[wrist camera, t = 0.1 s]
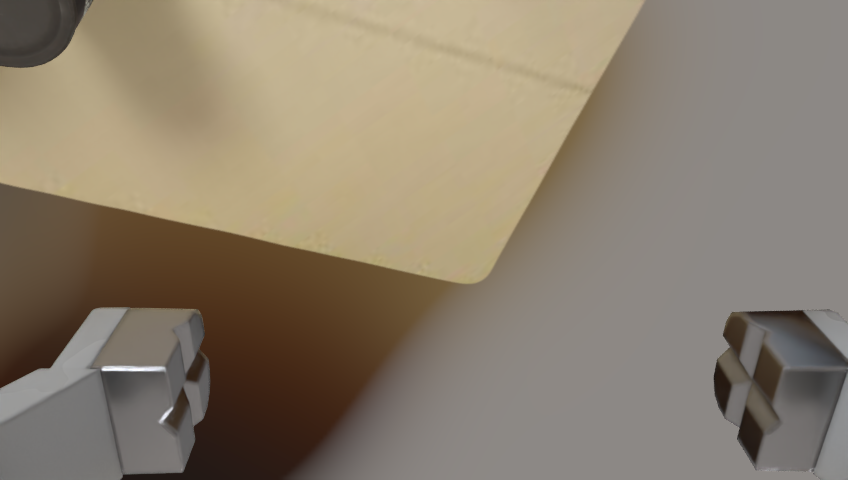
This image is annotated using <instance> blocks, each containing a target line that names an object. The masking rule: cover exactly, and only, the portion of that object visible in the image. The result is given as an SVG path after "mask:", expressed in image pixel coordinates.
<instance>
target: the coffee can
mask: <svg viewBox="0 0 848 480" xmlns="http://www.w3.org/2000/svg"><path fill="white" fill-rule="evenodd" d="M92 2H93V0H0V66H5V67H18V68H24V67H34V66H38V65H42V64H45V63H47V62H49V61H51V60H53V59H54V58H56V57H57V56H58V55H60V54H61V53H62V52H63V51H64V50H65V49H66V47H67V46H68V44H69V43H70V41H71V39H72V37H73V35H74V32H75V29H76V28H77V26H78V24H79V23H80V21H81V20H82V18H83V17H84V15H85V13H86V12H87V10H88V8H89V7H90V5H91V3H92Z"/></svg>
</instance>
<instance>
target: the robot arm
mask: <svg viewBox="0 0 848 480" xmlns="http://www.w3.org/2000/svg"><path fill="white" fill-rule="evenodd" d="M204 335H205V333H204V327H203V321H202V316H201V314H200V312H199V311H198V310H197V309H156V308H154V309H153V308H132V309H131V308H129V307H127V308H98V309H94V310H93V311H92V312H91V313H90V314H89V316H88V317H87V318H86V320H85V321H84V323H83V324H82V325H81V327H80V328H79V330H78V331H77V332H76V334H75V335H74V336H73V338H72V339H71V341H70V342H69V343H68V345H67V346H66V347H65V349H64V350H63V352H62V353H61V354H60V356H59V357H58V358H57V360H56V361H55V363H54V364H53V365H52V367H51V368H50V369H38V370H36V371H34V372H32V373H30V374H28V375H26V376H24V377H22V378H20V379H18V380H16V381H14V382H12V383H10V384H8V385H6V386H4V387H2V388H0V480H120V479H121V478H122V474H145V473H178V472H183V471H184V468H185V465H186V462H187V460H188V457H189V454H190V452H191V449H192V447H193V444H194V441H195V437H194V429H193V426H194V425H196V424H197V423H198V422H200V421H201V420H203V417H204V414H205V411H206V408H207V404H208V397H209V390H210V370H209V362H208V358H207V357H206V356H205V355H204V354H203V353H202V352H201V351H200V350H199V347H200V344H201V342H202V340H203V337H204ZM723 336H724V338H725V340H726V341H727V343H728V345H729V346H730V348H728V350H726V351H725V352H724V353H723V354H722V355H721V356H720V357H719V358H718V359H717V363H716V368H715V373H714V391H715V397H716V400H717V403H718V407H719V409H720V411H721V412H722V414H723V416H724V418H725V419H726V420H728V421H730V422H731V423H733V424H734V425H736V426H738V427H739V428H740V429H739V433H738V437H737V440H738V441H739V443H740V445H741V446H742V448H743V450H744V451H745V453H746V454H747V456H748V458H749V460H750V461H751V463H752V464H753V466H754V468H755V469H756V470H767V471H768V470H769V471H809V472H810V471H811V472H814V473H813V474H814V475H815V476H816V477H818V478H819V479H820V480H848V323H847V322H846V321H845V320H844V319H843V318H842V317H841V316H840V315H839V314H838V313H837V312H834V311H832V310H829V309H827V310H797V311H758V312H757V311H755V312H732V313H731V315H730V316H729V318H728V319H727V321H726V325H725V329H724V333H723Z"/></svg>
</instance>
